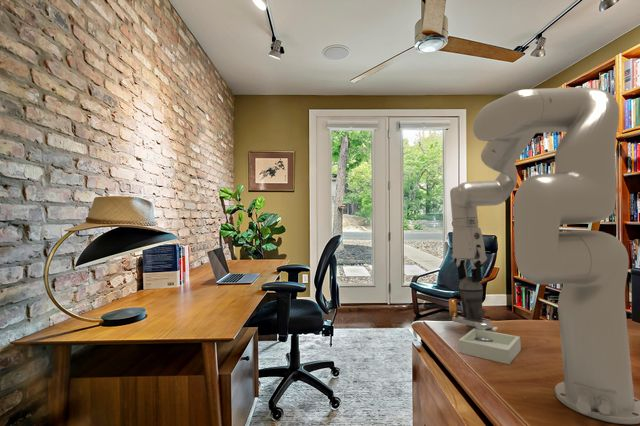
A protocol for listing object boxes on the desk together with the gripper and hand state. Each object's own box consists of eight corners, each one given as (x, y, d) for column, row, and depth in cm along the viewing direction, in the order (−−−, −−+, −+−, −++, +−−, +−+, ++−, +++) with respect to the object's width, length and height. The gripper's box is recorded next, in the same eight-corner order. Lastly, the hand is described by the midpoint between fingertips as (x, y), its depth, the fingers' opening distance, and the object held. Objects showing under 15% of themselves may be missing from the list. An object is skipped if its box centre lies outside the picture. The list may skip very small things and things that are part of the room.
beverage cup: (490, 329, 94) (484, 263, 96) (464, 329, 96) (459, 264, 97) (482, 323, 101) (477, 261, 103) (458, 322, 103) (453, 262, 104)
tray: (509, 364, 74) (508, 350, 74) (459, 352, 82) (458, 339, 82) (521, 349, 82) (520, 336, 82) (474, 339, 90) (473, 328, 90)
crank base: (496, 347, 84) (495, 336, 84) (462, 340, 90) (461, 329, 91) (505, 337, 91) (504, 327, 91) (472, 331, 97) (472, 322, 97)
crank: (495, 327, 90) (494, 304, 90) (487, 331, 87) (485, 307, 88) (455, 318, 100) (453, 297, 101) (446, 321, 98) (444, 300, 98)
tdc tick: (494, 331, 97) (494, 329, 97) (491, 330, 97) (491, 329, 97) (497, 328, 99) (497, 327, 99) (494, 328, 99) (494, 326, 99)
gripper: (495, 222, 94) (501, 283, 92) (457, 225, 110) (462, 276, 109) (474, 223, 92) (479, 285, 90) (439, 225, 108) (443, 278, 107)
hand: (469, 279), depth 100 cm, fingers closed on beverage cup, 5 cm apart
